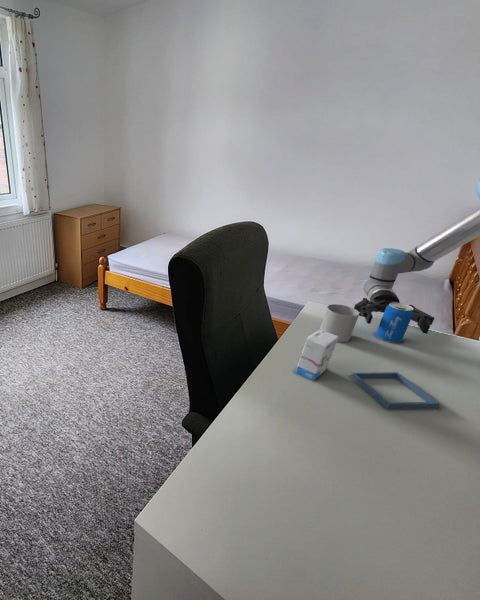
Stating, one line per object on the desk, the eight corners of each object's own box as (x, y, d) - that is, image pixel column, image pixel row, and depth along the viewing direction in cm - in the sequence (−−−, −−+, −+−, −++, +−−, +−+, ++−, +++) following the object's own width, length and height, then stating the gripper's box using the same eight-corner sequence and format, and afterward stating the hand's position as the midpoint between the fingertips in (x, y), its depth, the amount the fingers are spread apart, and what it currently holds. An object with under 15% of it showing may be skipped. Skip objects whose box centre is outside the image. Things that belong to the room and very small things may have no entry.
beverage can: (373, 339, 110) (386, 306, 105) (376, 332, 115) (389, 300, 109) (399, 346, 106) (414, 313, 101) (401, 339, 110) (416, 306, 105)
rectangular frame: (394, 378, 93) (397, 372, 92) (437, 410, 82) (440, 403, 81) (349, 378, 93) (352, 372, 92) (385, 410, 82) (388, 404, 81)
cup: (324, 341, 110) (333, 314, 106) (314, 329, 117) (322, 303, 113) (354, 344, 108) (364, 317, 104) (342, 331, 115) (352, 305, 111)
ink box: (313, 382, 92) (326, 345, 87) (294, 373, 95) (305, 337, 90) (327, 371, 96) (339, 335, 91) (307, 362, 100) (319, 327, 95)
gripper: (425, 315, 118) (447, 345, 101) (337, 302, 129) (344, 326, 112) (434, 296, 114) (458, 323, 98) (343, 283, 126) (351, 305, 109)
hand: (397, 324), depth 105 cm, fingers open, 13 cm apart
